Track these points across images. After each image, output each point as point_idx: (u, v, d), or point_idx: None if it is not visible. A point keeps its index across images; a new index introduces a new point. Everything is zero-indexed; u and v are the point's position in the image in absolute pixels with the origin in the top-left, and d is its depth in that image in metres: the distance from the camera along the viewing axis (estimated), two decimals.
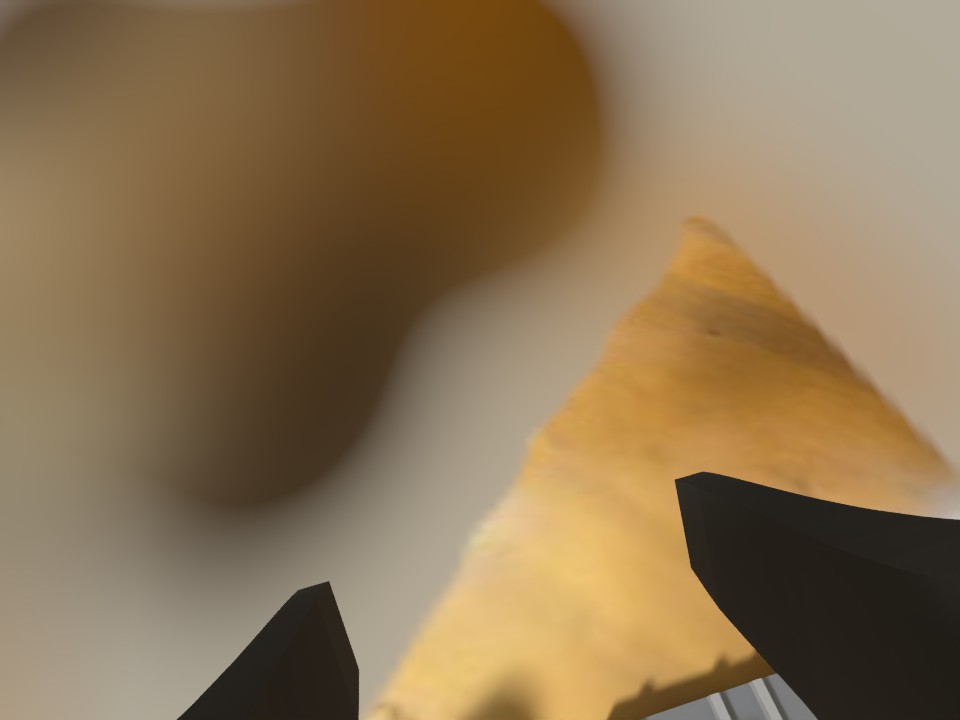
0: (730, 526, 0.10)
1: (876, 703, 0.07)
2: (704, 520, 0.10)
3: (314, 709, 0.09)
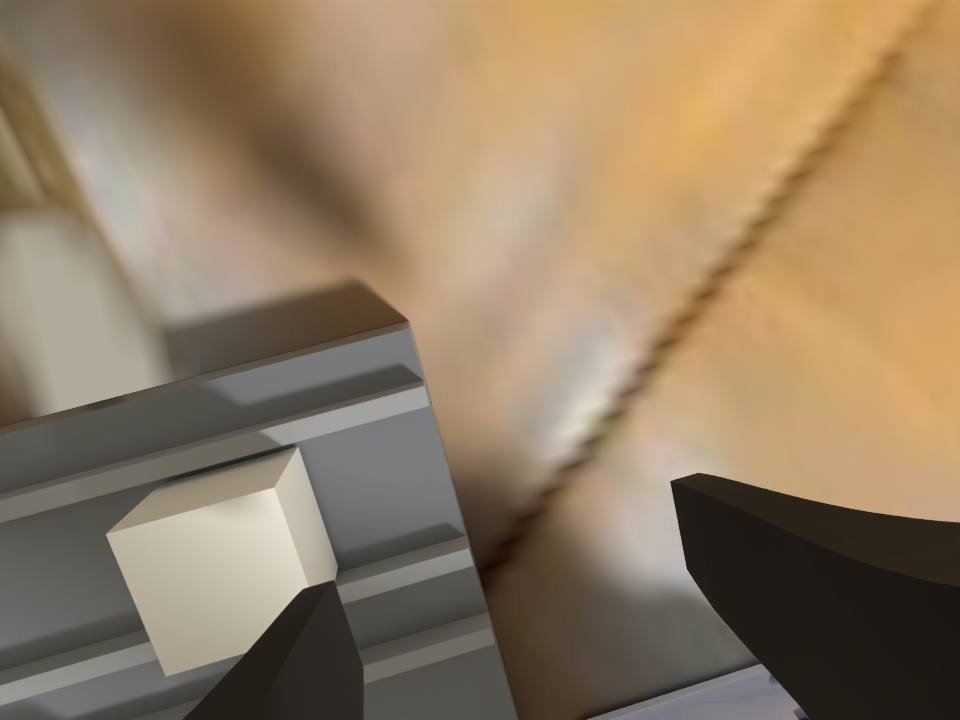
0: (725, 528, 0.10)
1: (869, 705, 0.07)
2: (699, 522, 0.10)
3: (321, 705, 0.09)
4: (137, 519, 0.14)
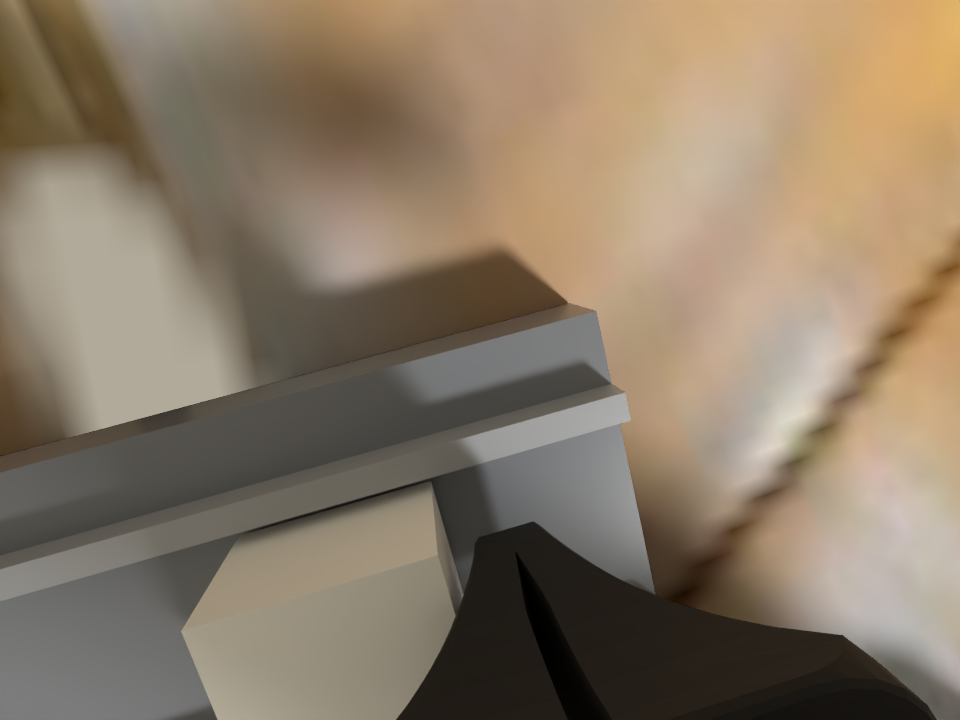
0: (528, 587, 0.09)
1: None
2: None
3: (536, 640, 0.09)
4: (226, 604, 0.09)
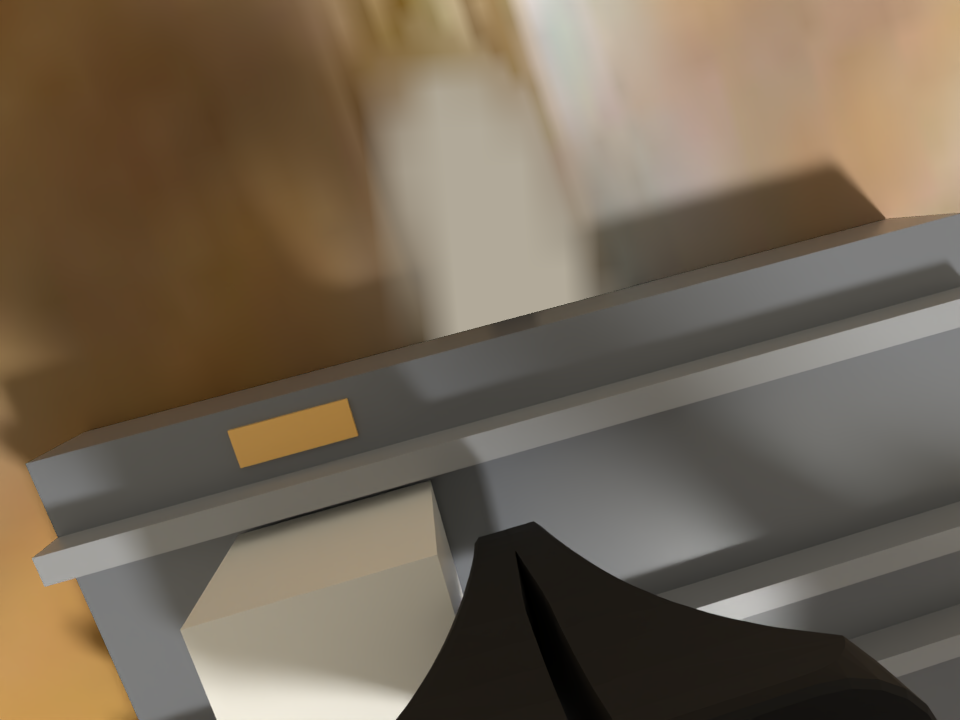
0: (528, 587, 0.09)
1: None
2: None
3: None
4: (225, 603, 0.09)
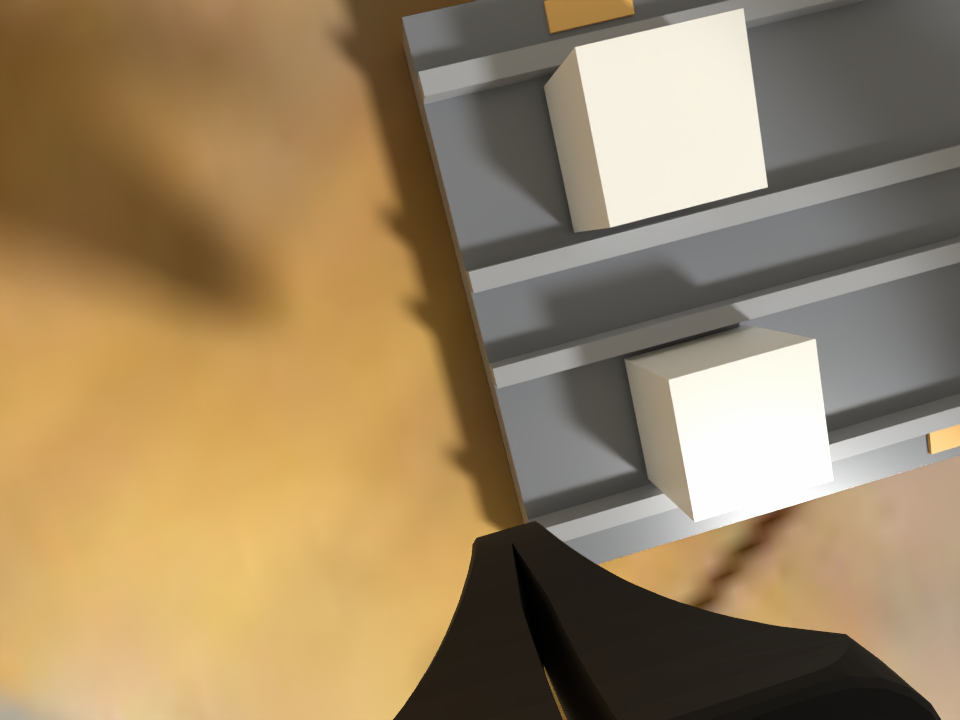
0: (530, 586, 0.09)
1: None
2: (520, 575, 0.10)
3: (533, 640, 0.09)
4: (592, 47, 0.13)
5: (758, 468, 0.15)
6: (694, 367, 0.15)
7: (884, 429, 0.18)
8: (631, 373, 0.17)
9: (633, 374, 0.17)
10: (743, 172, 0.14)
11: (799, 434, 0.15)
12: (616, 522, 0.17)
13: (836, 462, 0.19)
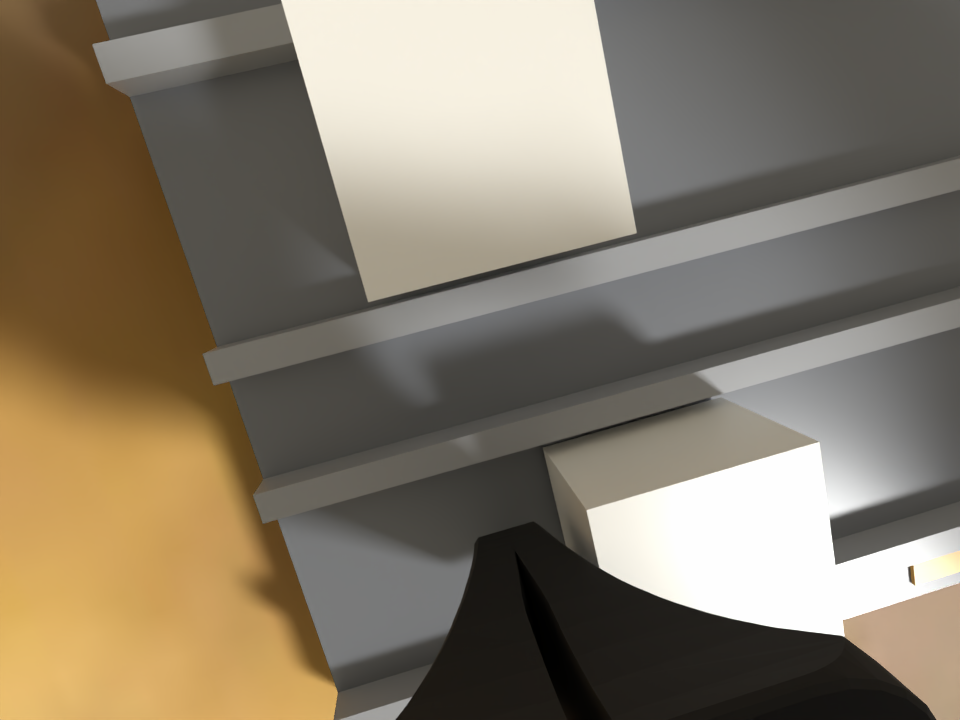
0: (528, 587, 0.09)
1: None
2: None
3: None
4: None
5: None
6: (630, 485, 0.09)
7: (847, 562, 0.13)
8: (551, 470, 0.12)
9: (553, 474, 0.11)
10: (594, 209, 0.08)
11: (793, 583, 0.10)
12: None
13: None
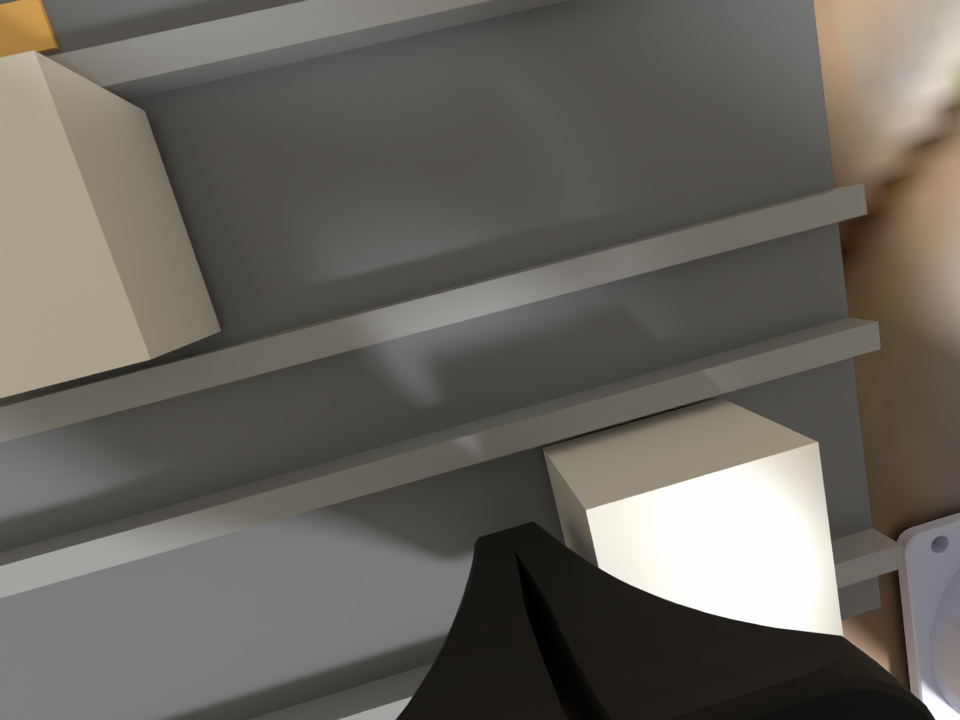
0: (528, 587, 0.09)
1: None
2: None
3: (535, 639, 0.09)
4: None
5: None
6: (629, 486, 0.09)
7: None
8: (550, 470, 0.12)
9: (552, 474, 0.12)
10: (96, 336, 0.08)
11: (792, 584, 0.10)
12: None
13: None
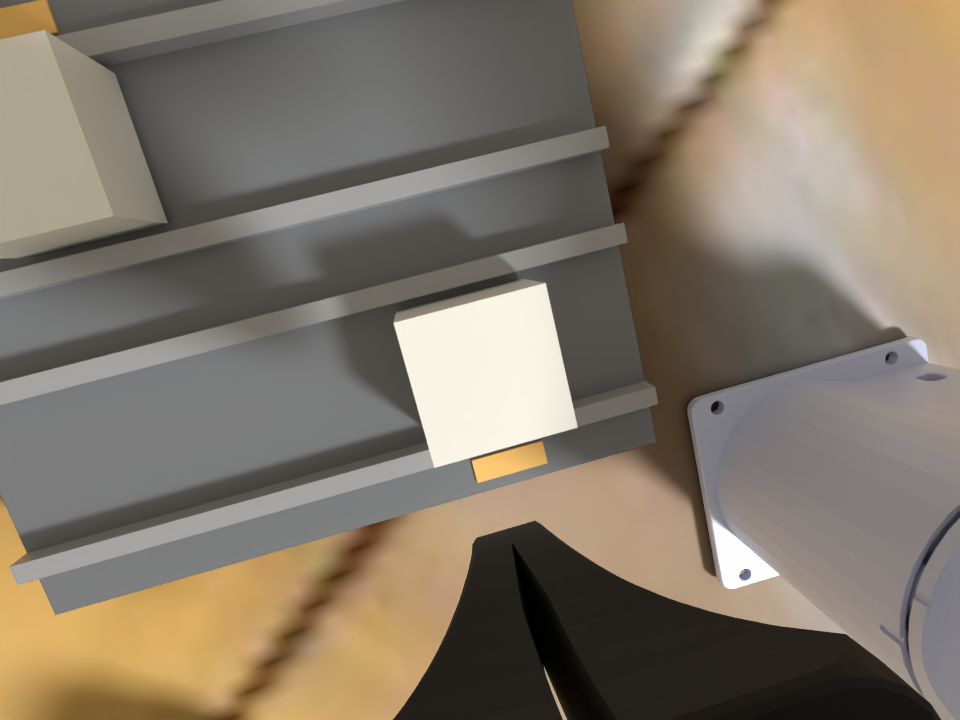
0: (530, 586, 0.09)
1: None
2: (520, 575, 0.10)
3: (533, 640, 0.09)
4: None
5: (497, 414, 0.15)
6: (427, 312, 0.15)
7: (397, 459, 0.17)
8: None
9: None
10: (81, 200, 0.13)
11: (536, 379, 0.15)
12: (105, 556, 0.17)
13: (371, 492, 0.18)
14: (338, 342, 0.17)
